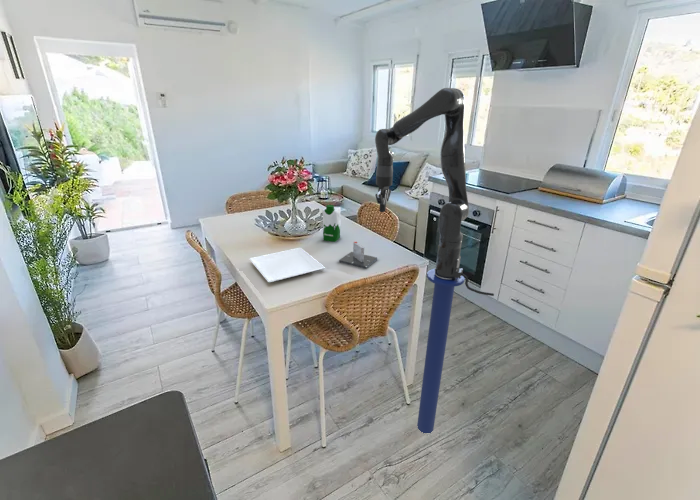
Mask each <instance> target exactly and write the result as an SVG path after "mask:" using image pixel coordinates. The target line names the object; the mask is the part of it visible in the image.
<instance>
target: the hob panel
mask: <svg viewBox="0 0 700 500" xmlns="http://www.w3.org/2000/svg"><path fill="white" fill-rule="evenodd" d="M377 261H378V257H376V256H372V255H369V254H368V255H367V254H365V253H364V262H360V261H359V260H358V259H356V258H355V257H354V256H353V251H350V252H349V253H347V254H346V255H344V256H343V257H341V258H340V259H338V262H339V263H341V264H345V265H348V266H352V267H356V268H362V269H366V270H367V268H370V266H372V265H373V264H375V262H377Z"/></svg>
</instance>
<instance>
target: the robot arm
mask: <svg viewBox="0 0 700 500" xmlns="http://www.w3.org/2000/svg"><path fill="white" fill-rule="evenodd" d="M465 107H466V99H465V95H464V93H463V91H462V90H461V89H459V88H457V87H456V88H454V87H444V88H441V89H440V90H438V91H437V92H435V94H433V95H432V96H431V97H429V99H428V100H426V101H425V102H424V103H422V104H421V105H420V106H419V107H418V108H416V109H415V110H413V111H411V112H410V113H408V114H407V115H405V116H403V117H401V118H400V119H398V120H397V121H395V122H394V123H393V124H392V125H393V126H392V127H390V128H380V129H378V130H377V132H376V133H375V137H374V143H375V148H376V149H375V150H376V154H377V163H376V170H375V171H376V174H375V175H376V176H375V185H376V186H378V189H377V193H375V196H374V197H375V199H376V202H377V204H378V205H379V212H380V213H385V212H386V208H387V203H388V202H389V199H390V196H391V194H392V189H390V187H391V186H393V177H394V152H392V151H390V149H389V146H393V145H395V144H397V143H398V142H400V141H401V140H402V139H403V138H405V137H406V136H409V135H410V134H412V133H414V132H415V131H417V130H419V128H421V126H423V125H424V124H425V123H426V122H427V121H429V120H431V119H434V118H437V117H439V116H442V115H444V121H445V131H444V135H443V139H442V143H441V147H440V156H439V157H440V167H441V172H442V175H443V177H444V180H445V183H446V184H447V188H448V202H447V203H445V204H443V206H442V207H441V208H440V211H439V219H438V233H439V237H438V245H437V252H436V253H437V254H436V262H435V268H436V269H435V268H434V269H435V276H436V277H437V278H439V279H442V280H453V281H455V279H456V278H460V277H461V276H463V277H464V278H465V279H464V282H465V283H464V284H465V287H466V288H467V290H469V291H471V292H474V293H476V294H479V295H484V296H491V297H494V296H495V293H493V292H486V291H482V290H478V289H475V288H472V287H470V286H469V277H468V276H467V275H466V274H465V273H463V272H464V269H463V268H460V264H461V258H462V256H461V251H462V243H463V238H464V234H463V232H461V228H462V222H464V221H465V220H466V219H467V218H468V216H469V213H470V207H469V206H470V205H469V199H468V192H467V174H466V149H465V147H466V145H465V125H464V124H465Z"/></svg>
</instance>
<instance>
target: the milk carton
mask: <svg viewBox="0 0 700 500" xmlns="http://www.w3.org/2000/svg"><path fill="white" fill-rule="evenodd" d="M341 209H342V207H339V206H335V205H333V204H327V205H325V207H324V208H323V209H321V212H322V239H323V241H325V242H332V243H337V241H338V240H339V239H341Z"/></svg>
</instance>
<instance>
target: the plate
mask: <svg viewBox="0 0 700 500" xmlns="http://www.w3.org/2000/svg"><path fill="white" fill-rule="evenodd" d="M248 260H249V261H250V262H251V263H252V264H253V266H254V267H255V268H256V269H257V271H258V272H259V273H260V274H261V275H262V276H263V278H264V279H265V280H266V281H267V283H273V282H278V281H281V280H285V279H290V278H293V277H297V276H301V275H304V274H308V273H312V272H317V271H320V270H324V269H326V267H325V266H324V265H323V264H322V263H321V262H319V261H318V260H317V259H315V258H314V257H313V256H312V255H311V254H309V252H307V251H305V249H303V248H302V247H296V248H295V247H294V248H291V249H286V250H282V251H277V252H271V253H267V254H263V255H258V256H254V257H253V256H252V257H249V258H248Z"/></svg>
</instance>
